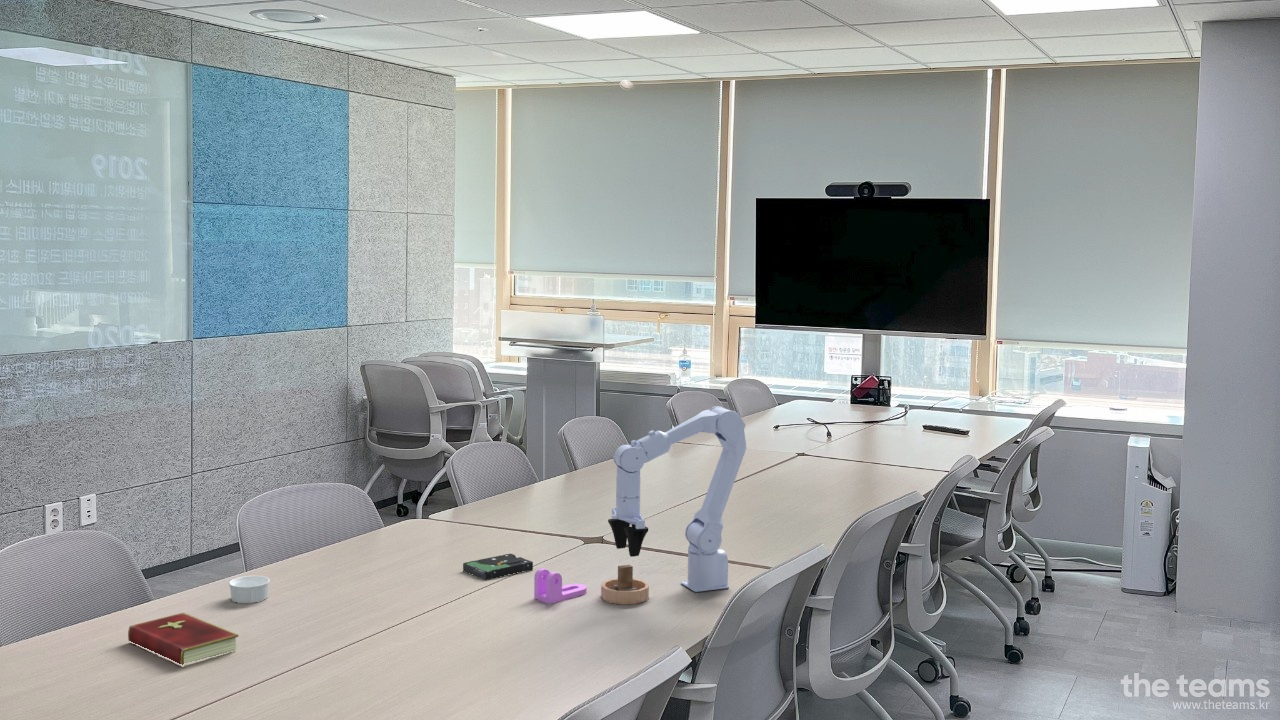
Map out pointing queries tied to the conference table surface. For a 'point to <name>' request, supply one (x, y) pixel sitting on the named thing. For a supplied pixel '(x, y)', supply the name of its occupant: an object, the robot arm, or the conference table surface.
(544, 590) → the bracket
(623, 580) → the long tan beam
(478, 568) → the disk drive
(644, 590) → the round tan tray
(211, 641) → the hardcover book
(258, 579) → the ramekin
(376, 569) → the conference table surface
